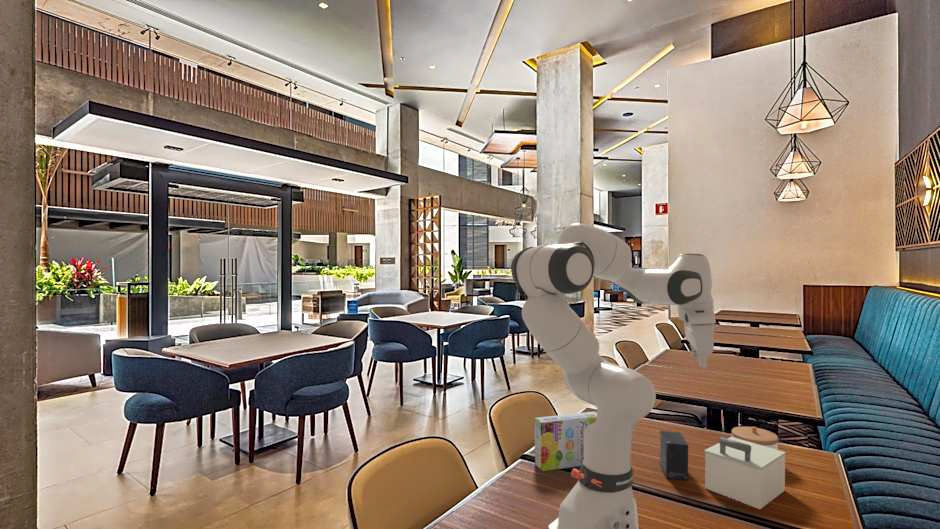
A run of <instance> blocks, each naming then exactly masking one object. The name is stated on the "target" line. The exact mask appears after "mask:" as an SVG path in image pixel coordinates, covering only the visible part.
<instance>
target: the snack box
mask: <svg viewBox="0 0 940 529" xmlns="http://www.w3.org/2000/svg"><path fill="white" fill-rule="evenodd" d="M596 418H597V411H587V412H577V413H566V414H560V415H559V414H558V415H549V416H539V417H534V418H533V419H534V420H533V422H534V426H533V427H534V465H535V466H536V467H537V468H538V469H539V470H540V471H541V472H546V471H554V470H561V469H569V468H578V467H581V465H582V462H583V460H584V431H585V429H586V428H587V427H588V426H589V425H591V424H592V423H595V421H596Z"/></svg>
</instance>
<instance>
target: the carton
mask: <svg viewBox="0 0 940 529" xmlns="http://www.w3.org/2000/svg"><path fill="white" fill-rule="evenodd" d="M704 456H705V457H704V460H705V461H704V462H705V463H704V464H705V465H704V466H705V467H704V468H705V469H704V471H705V473H704V476H705V477H704V484H705V485H704V488H705V489H706V490H709V491H710V492H713V493H716V494H718V495H722V496H724V497H726V496H727V498H729V499H731V498H732V500H734V499H735V500H734V501H737V502H739V501H740V503H743V504H745V505H747V506H750V507H753V508H756V509H758V510H761V509H763V508H764V507H765V506H766V505H768V504H769V503H770V502H772V501H773V500H774V499H775V498H777V497H779V496H780V495H782V493H784V492H785V490H786V482H785V481H786V455H784V456H783V457H781V458H779V459H778V460H776V461H775V462H773V463H772V464H770V465H769V466H767V467H765V468H764V469H762V470H761V471H760V470H757V469H754V468H751V467H748V466H745V465H742V464H739V463H736V462H732V461H729V460H726V459H723V458H720V457H717V456H714V455H711V454H708V453H705V452H704Z"/></svg>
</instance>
